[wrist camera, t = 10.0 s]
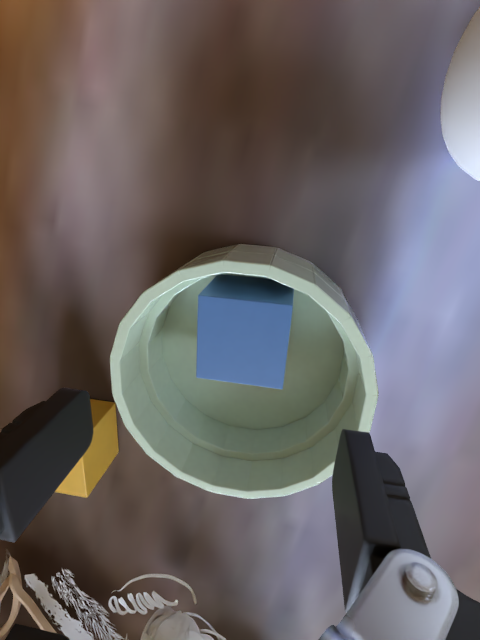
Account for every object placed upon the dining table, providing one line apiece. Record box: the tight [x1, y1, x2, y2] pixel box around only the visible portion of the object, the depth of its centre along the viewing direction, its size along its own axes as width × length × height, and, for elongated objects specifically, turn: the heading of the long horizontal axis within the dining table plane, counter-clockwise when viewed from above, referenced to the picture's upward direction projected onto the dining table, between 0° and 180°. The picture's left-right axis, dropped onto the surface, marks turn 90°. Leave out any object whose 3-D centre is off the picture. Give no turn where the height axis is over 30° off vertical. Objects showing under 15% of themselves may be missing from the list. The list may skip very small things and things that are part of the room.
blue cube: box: [196, 274, 294, 389], centre depth 20 cm, size 5×5×5 cm
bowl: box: [110, 244, 378, 499], centre depth 21 cm, size 14×14×6 cm
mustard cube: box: [55, 399, 119, 498], centre depth 26 cm, size 5×5×5 cm
